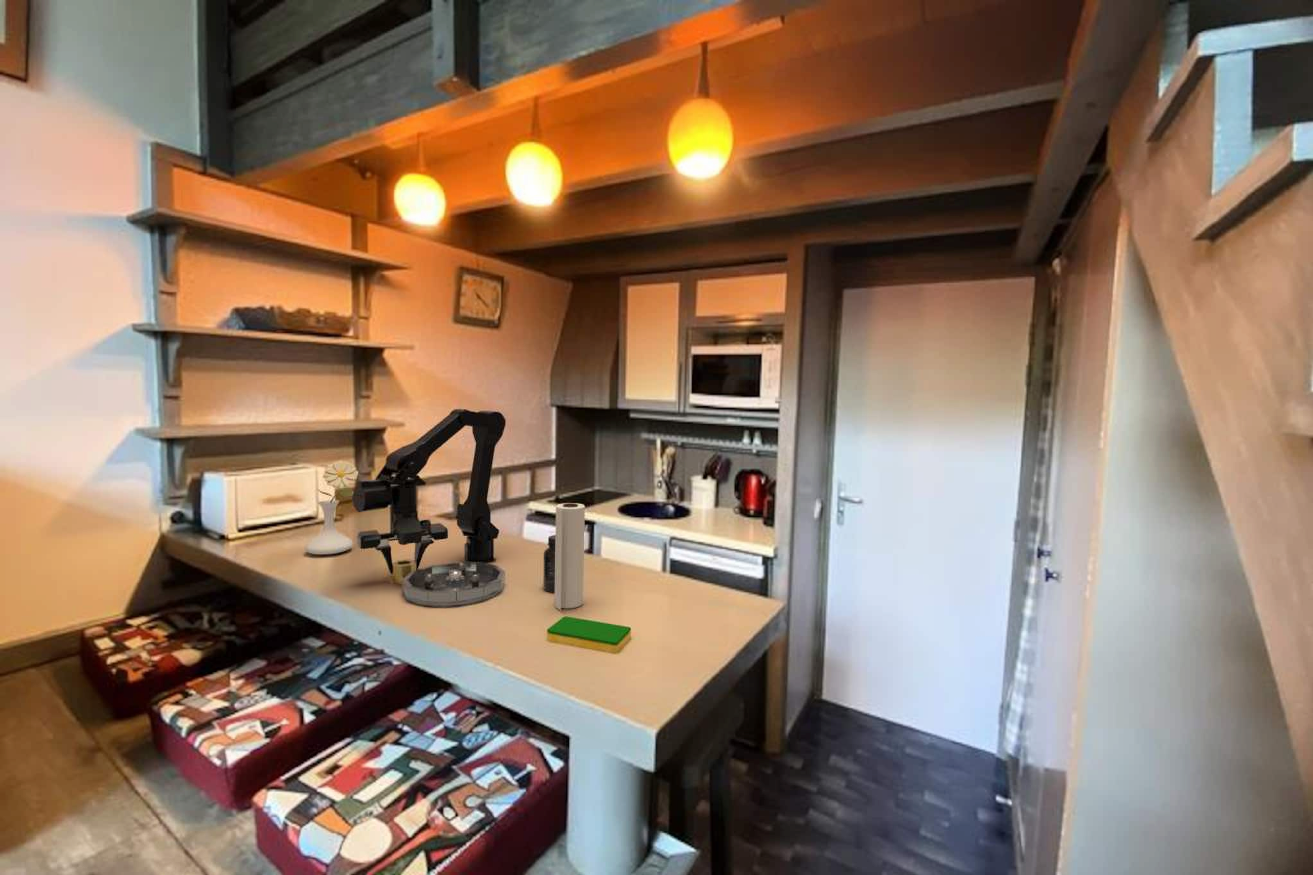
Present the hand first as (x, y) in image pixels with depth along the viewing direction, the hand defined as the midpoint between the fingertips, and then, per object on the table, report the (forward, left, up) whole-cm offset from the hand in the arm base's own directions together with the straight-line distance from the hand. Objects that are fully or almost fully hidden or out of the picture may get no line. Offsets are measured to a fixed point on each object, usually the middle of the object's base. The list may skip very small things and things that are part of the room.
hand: (403, 571), depth 131 cm
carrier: (-8, +13, -2) cm, 15 cm away
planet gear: (0, 0, -2) cm, 2 cm away
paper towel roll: (-25, +34, -2) cm, 42 cm away
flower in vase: (+11, -33, -2) cm, 35 cm away
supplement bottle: (-28, +24, -2) cm, 37 cm away
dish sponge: (-21, +51, -3) cm, 55 cm away
